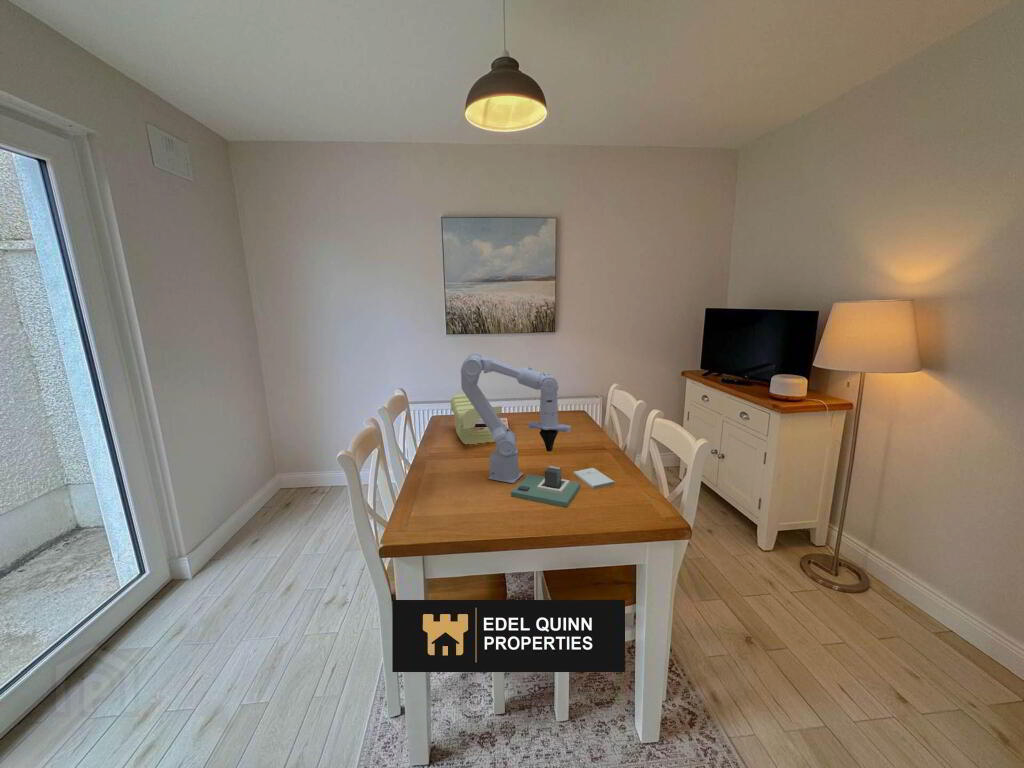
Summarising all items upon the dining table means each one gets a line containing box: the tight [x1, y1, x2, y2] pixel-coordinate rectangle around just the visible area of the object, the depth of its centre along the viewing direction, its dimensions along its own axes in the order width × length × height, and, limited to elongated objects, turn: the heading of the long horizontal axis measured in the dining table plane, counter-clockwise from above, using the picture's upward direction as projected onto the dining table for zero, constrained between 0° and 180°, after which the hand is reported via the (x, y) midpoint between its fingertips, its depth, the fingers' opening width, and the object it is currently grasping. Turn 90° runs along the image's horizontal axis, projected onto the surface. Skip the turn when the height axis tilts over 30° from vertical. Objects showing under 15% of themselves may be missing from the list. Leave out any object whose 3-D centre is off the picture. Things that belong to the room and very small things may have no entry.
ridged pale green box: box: [450, 391, 503, 446], centre depth 176 cm, size 30×16×18 cm, turn 18°
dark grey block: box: [544, 465, 562, 489], centre depth 125 cm, size 4×4×6 cm
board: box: [510, 473, 582, 508], centre depth 126 cm, size 18×14×3 cm
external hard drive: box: [573, 467, 615, 490], centre depth 135 cm, size 2×8×12 cm
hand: (549, 450), depth 136 cm, fingers closed
